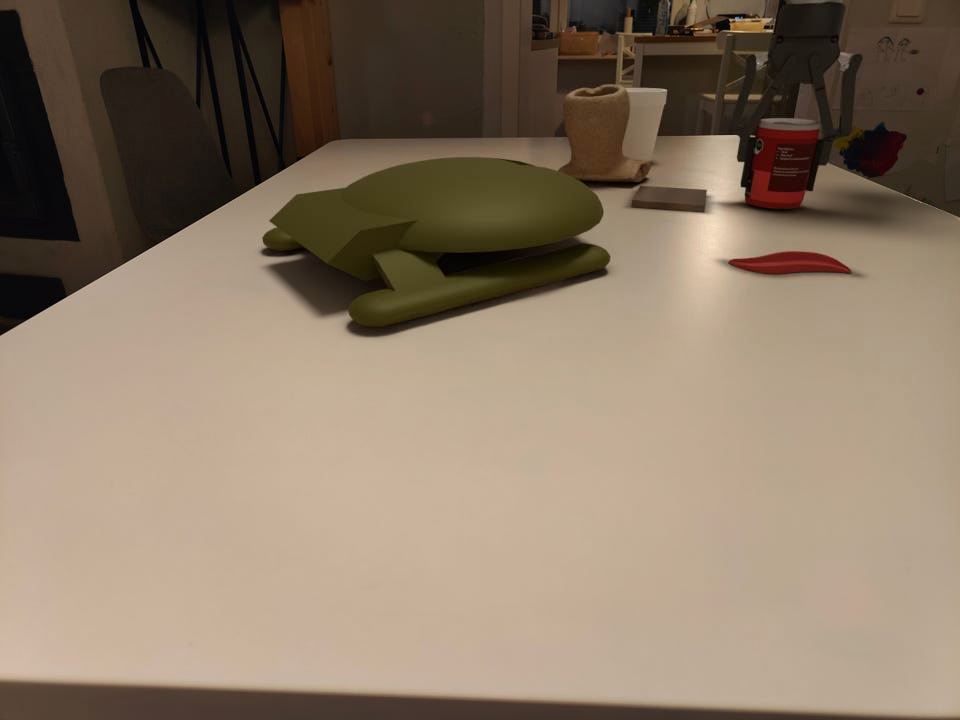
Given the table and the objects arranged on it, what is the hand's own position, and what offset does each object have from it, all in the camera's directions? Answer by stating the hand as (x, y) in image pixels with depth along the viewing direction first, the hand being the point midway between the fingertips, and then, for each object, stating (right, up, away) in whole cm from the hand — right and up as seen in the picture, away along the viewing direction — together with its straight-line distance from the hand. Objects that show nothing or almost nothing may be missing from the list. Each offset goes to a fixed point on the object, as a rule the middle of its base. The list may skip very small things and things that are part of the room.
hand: (775, 187), depth 87 cm
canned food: (0, -2, +1) cm, 2 cm away
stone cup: (-21, +5, +17) cm, 28 cm away
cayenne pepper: (-10, -15, -23) cm, 29 cm away
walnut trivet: (-14, -1, +4) cm, 14 cm away
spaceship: (-45, -13, -17) cm, 50 cm away
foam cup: (-12, +13, +32) cm, 37 cm away
